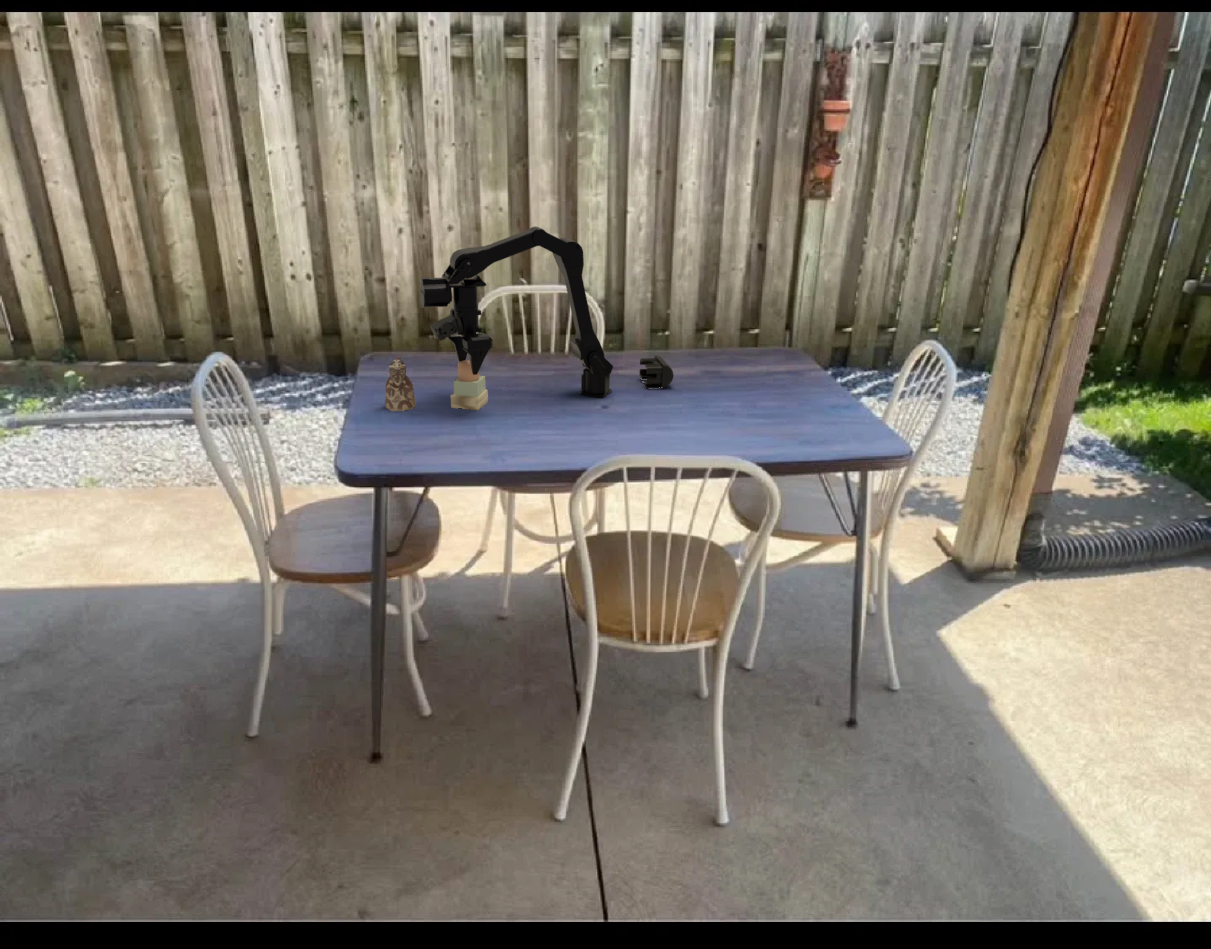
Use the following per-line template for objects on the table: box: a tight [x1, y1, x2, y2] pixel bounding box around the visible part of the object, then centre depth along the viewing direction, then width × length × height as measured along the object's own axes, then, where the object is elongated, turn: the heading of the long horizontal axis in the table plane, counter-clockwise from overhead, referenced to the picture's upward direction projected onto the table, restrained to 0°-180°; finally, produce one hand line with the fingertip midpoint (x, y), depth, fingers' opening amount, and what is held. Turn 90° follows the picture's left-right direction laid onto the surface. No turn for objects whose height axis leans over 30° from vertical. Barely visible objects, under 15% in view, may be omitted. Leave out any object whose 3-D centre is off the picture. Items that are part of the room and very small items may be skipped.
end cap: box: [639, 354, 674, 389], centre depth 234 cm, size 10×7×7 cm
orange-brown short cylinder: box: [457, 359, 480, 382], centre depth 212 cm, size 5×5×4 cm
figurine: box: [384, 356, 416, 412], centre depth 210 cm, size 7×7×12 cm
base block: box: [450, 389, 489, 411], centre depth 215 cm, size 7×7×4 cm
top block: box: [453, 375, 487, 397], centre depth 214 cm, size 6×6×4 cm
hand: (468, 369), depth 212 cm, fingers open, 9 cm apart
